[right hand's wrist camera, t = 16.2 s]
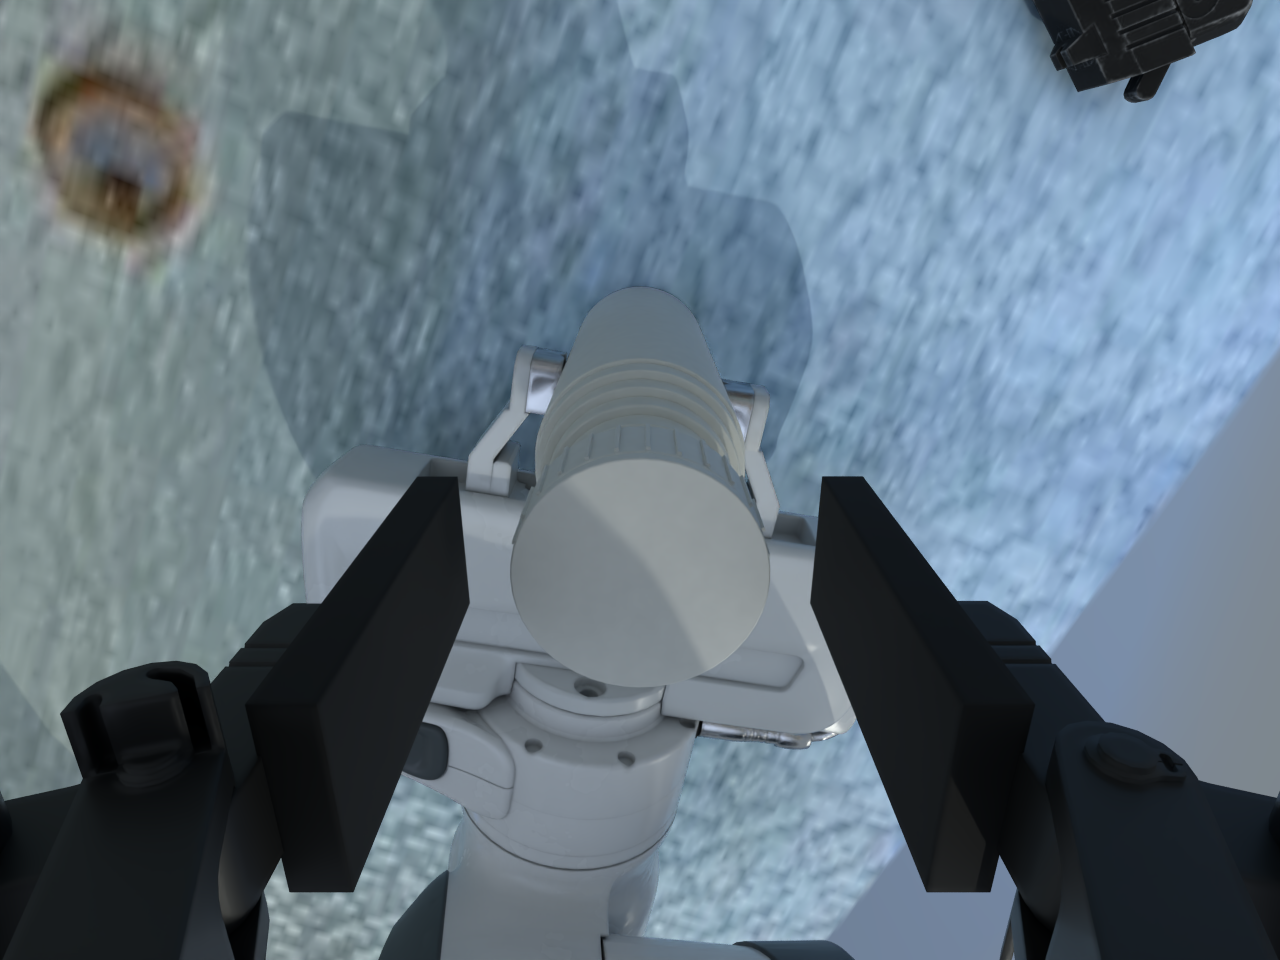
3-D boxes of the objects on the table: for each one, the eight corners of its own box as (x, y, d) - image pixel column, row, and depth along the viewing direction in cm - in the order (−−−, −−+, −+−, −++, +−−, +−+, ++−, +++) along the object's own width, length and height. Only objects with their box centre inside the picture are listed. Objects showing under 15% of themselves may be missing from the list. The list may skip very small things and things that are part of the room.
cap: (751, 408, 14) (766, 440, 12) (765, 624, 15) (779, 678, 14) (502, 436, 14) (483, 470, 12) (542, 646, 16) (531, 701, 14)
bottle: (709, 405, 31) (791, 671, 14) (586, 419, 31) (523, 698, 14) (697, 278, 29) (777, 412, 12) (567, 294, 30) (469, 447, 13)
